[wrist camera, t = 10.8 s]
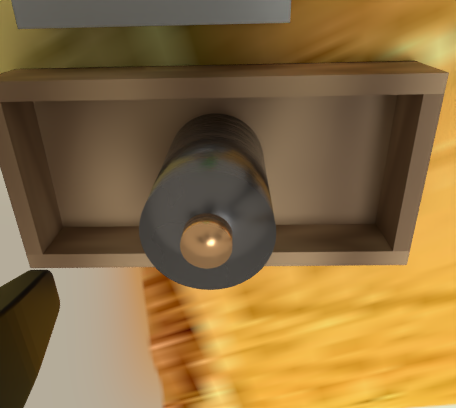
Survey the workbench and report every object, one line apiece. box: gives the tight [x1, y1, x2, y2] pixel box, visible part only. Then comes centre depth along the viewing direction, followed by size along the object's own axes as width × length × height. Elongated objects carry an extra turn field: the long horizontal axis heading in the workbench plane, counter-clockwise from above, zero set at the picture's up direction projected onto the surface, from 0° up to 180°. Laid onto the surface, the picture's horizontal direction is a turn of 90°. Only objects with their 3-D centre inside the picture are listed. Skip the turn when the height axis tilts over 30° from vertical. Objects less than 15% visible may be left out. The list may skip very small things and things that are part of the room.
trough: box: [0, 61, 449, 268], centre depth 18 cm, size 18×8×3 cm, turn 91°
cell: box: [139, 113, 276, 290], centre depth 16 cm, size 4×4×8 cm
